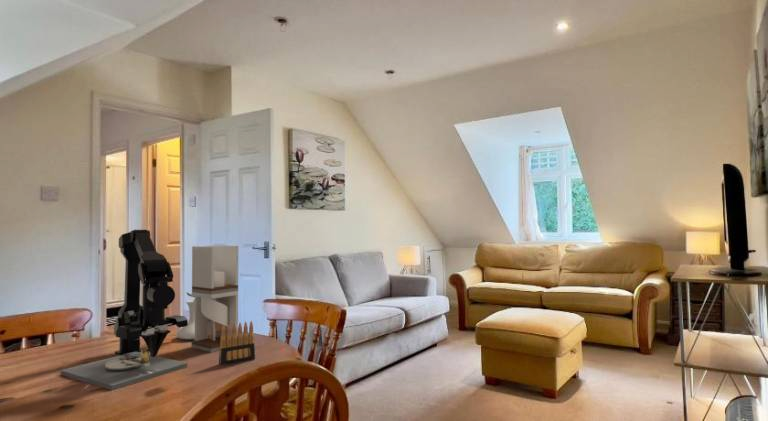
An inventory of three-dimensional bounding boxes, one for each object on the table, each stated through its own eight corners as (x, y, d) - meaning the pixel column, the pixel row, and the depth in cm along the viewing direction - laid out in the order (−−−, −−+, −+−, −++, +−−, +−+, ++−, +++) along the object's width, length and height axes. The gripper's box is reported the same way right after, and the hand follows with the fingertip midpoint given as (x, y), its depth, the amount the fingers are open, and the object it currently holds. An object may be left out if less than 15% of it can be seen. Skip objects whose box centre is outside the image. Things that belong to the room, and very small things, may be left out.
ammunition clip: (220, 365, 137) (220, 325, 137) (218, 364, 138) (219, 324, 139) (255, 359, 143) (255, 321, 144) (252, 358, 145) (253, 320, 145)
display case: (191, 347, 158) (192, 246, 159) (218, 340, 167) (218, 245, 168) (211, 352, 151) (212, 247, 153) (237, 345, 160) (238, 245, 161)
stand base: (60, 374, 130) (60, 369, 130) (135, 355, 149) (135, 351, 149) (112, 390, 117) (112, 385, 117) (187, 366, 136) (187, 362, 136)
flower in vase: (176, 343, 164) (177, 273, 165) (175, 336, 174) (175, 270, 175) (215, 338, 170) (215, 271, 171) (211, 332, 180) (211, 269, 181)
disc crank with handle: (97, 367, 131) (98, 348, 131) (131, 358, 139) (131, 340, 140) (130, 375, 123) (130, 355, 124) (163, 365, 132) (163, 346, 132)
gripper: (165, 295, 143) (165, 345, 143) (104, 305, 127) (104, 361, 127) (188, 298, 138) (188, 350, 137) (128, 308, 122) (127, 367, 121)
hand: (153, 356), depth 131 cm, fingers closed
